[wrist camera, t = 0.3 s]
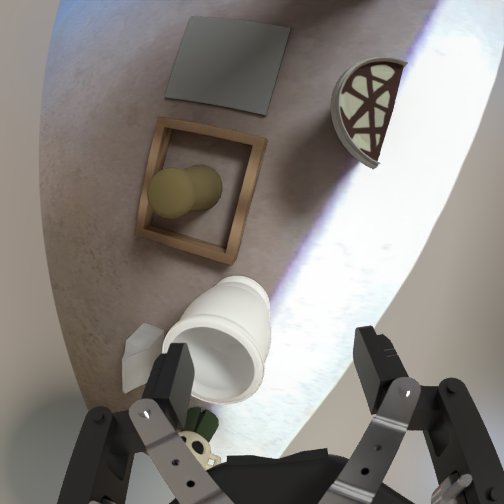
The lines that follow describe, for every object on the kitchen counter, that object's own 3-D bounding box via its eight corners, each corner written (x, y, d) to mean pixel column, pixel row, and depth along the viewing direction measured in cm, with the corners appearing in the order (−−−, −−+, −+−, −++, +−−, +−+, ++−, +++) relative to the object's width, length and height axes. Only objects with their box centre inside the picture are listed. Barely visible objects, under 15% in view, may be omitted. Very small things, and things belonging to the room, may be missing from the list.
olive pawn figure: (198, 155, 38) (162, 150, 28) (232, 186, 39) (206, 192, 28) (170, 189, 40) (127, 197, 29) (201, 219, 40) (167, 237, 30)
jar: (286, 328, 42) (277, 399, 28) (219, 342, 45) (186, 408, 30) (264, 258, 40) (243, 307, 26) (193, 277, 43) (144, 327, 28)
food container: (339, 65, 32) (350, 34, 23) (384, 82, 32) (408, 58, 22) (312, 152, 36) (316, 145, 26) (359, 169, 36) (378, 169, 26)
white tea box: (164, 330, 46) (135, 364, 36) (161, 362, 48) (135, 398, 38) (144, 322, 46) (112, 354, 37) (142, 355, 48) (113, 389, 39)
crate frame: (166, 119, 38) (158, 116, 35) (267, 140, 36) (265, 138, 34) (143, 231, 42) (134, 234, 40) (236, 259, 41) (232, 265, 39)
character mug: (235, 413, 48) (217, 469, 36) (228, 436, 50) (212, 489, 38) (176, 395, 49) (147, 446, 37) (174, 419, 51) (148, 468, 39)
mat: (192, 17, 33) (191, 16, 33) (290, 29, 32) (290, 27, 31) (165, 97, 37) (164, 97, 36) (266, 115, 36) (265, 115, 35)
